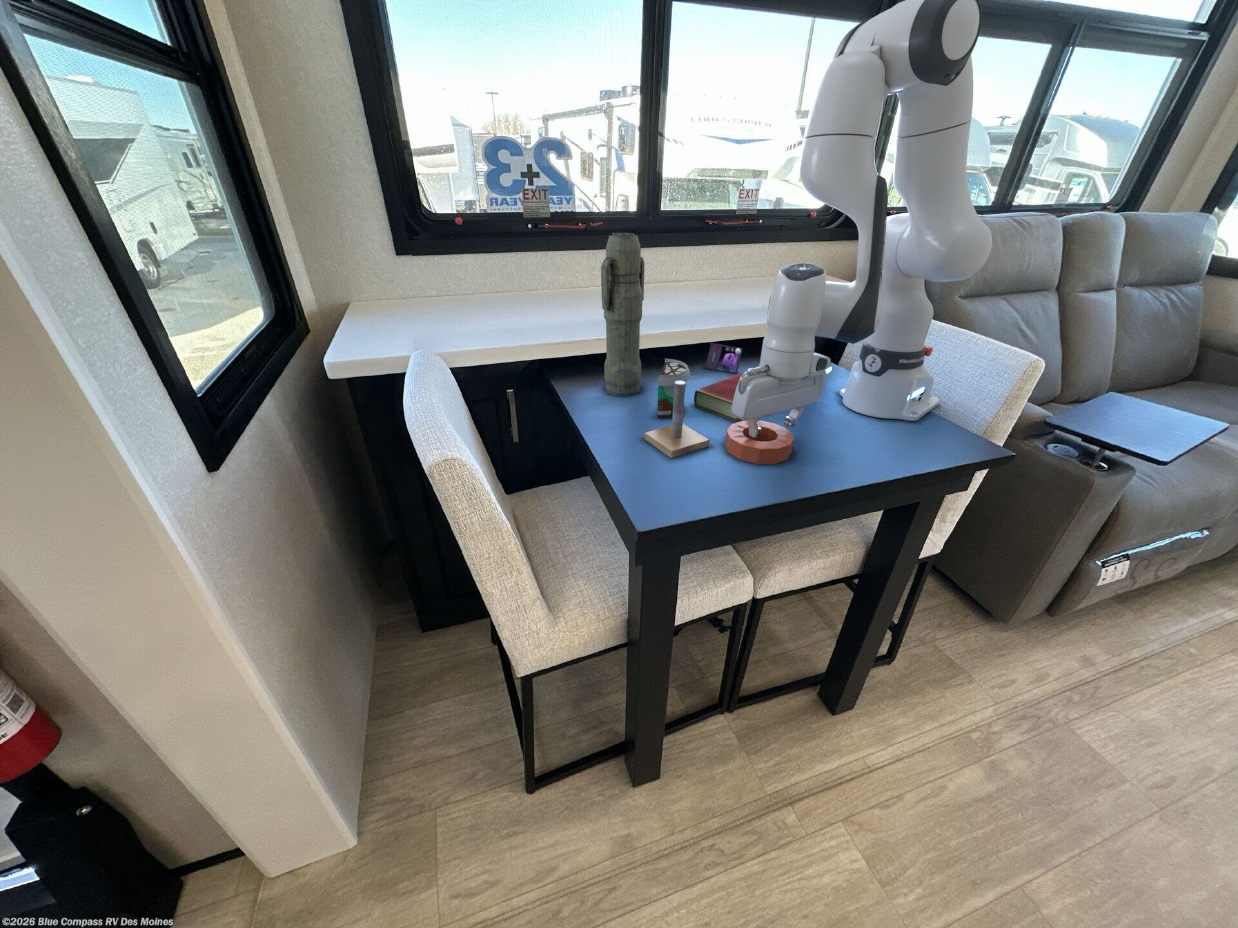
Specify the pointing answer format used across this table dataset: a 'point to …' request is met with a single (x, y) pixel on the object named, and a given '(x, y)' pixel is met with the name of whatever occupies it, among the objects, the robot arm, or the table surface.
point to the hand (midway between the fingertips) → (772, 430)
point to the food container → (670, 385)
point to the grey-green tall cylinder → (622, 312)
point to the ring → (759, 443)
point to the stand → (677, 430)
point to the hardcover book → (718, 397)
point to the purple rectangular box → (728, 359)
